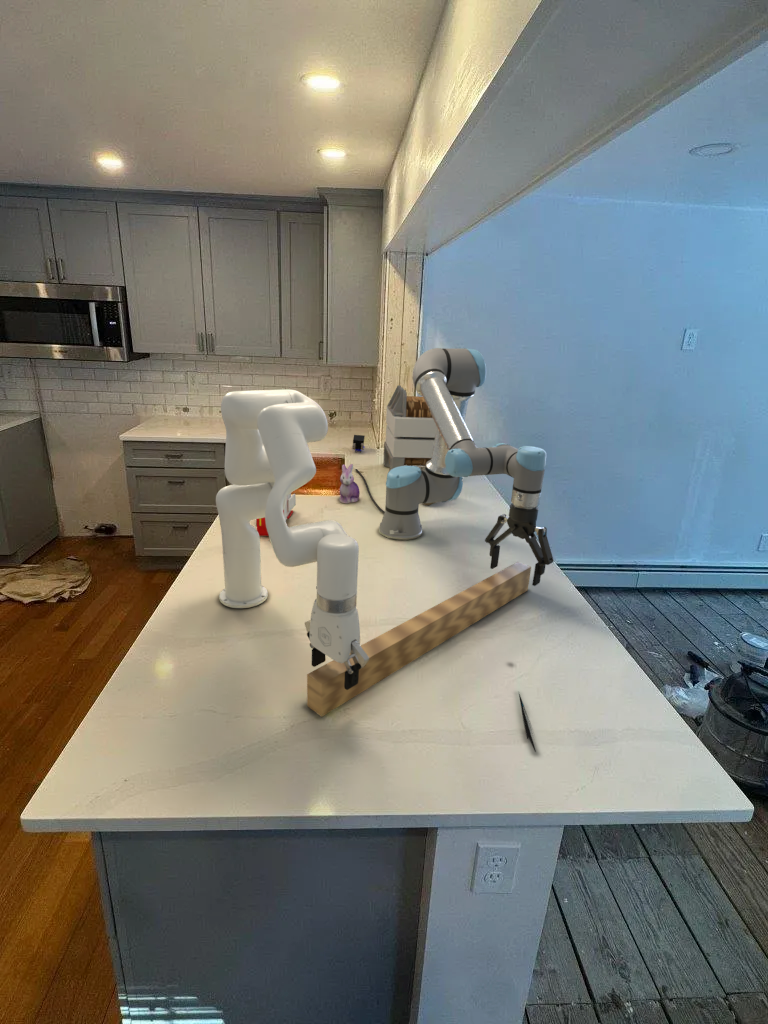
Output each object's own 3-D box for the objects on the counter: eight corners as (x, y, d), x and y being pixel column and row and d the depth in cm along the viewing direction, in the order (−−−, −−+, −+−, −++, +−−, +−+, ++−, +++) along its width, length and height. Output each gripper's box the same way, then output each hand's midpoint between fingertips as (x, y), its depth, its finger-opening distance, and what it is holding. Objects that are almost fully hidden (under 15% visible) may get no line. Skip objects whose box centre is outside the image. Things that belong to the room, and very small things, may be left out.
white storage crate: (382, 463, 289) (386, 382, 275) (445, 464, 293) (451, 384, 279) (390, 482, 257) (394, 392, 243) (460, 483, 261) (468, 394, 247)
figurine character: (364, 456, 306) (364, 446, 320) (364, 442, 303) (365, 433, 317) (351, 455, 306) (352, 446, 320) (352, 442, 303) (353, 433, 316)
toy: (297, 484, 217) (286, 498, 188) (297, 518, 220) (286, 537, 190) (265, 483, 217) (250, 497, 187) (266, 517, 219) (250, 537, 190)
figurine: (343, 505, 225) (344, 468, 220) (333, 497, 234) (334, 462, 229) (364, 502, 230) (366, 466, 225) (354, 495, 238) (355, 460, 233)
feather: (511, 668, 129) (516, 662, 128) (535, 756, 102) (542, 749, 102) (505, 664, 129) (510, 658, 128) (527, 751, 102) (534, 744, 101)
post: (514, 585, 166) (517, 561, 164) (527, 590, 163) (531, 566, 161) (307, 706, 112) (307, 674, 110) (321, 717, 109) (321, 684, 107)
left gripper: (292, 588, 109) (292, 662, 115) (354, 625, 98) (350, 705, 105) (321, 576, 115) (320, 648, 121) (383, 610, 104) (378, 687, 110)
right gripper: (478, 495, 157) (470, 564, 165) (560, 521, 142) (548, 596, 149) (493, 490, 163) (484, 557, 170) (574, 514, 147) (561, 587, 154)
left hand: (334, 674), depth 113 cm, fingers open, 9 cm apart
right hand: (514, 575), depth 160 cm, fingers open, 13 cm apart
